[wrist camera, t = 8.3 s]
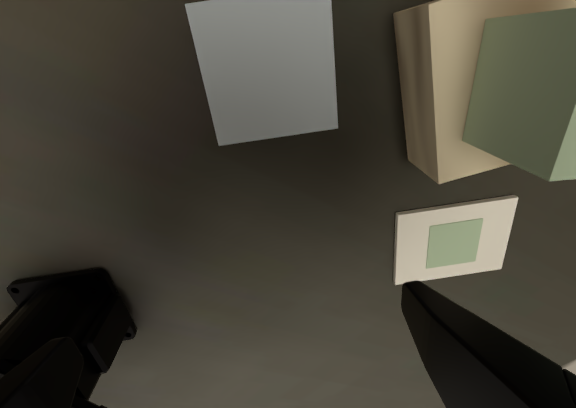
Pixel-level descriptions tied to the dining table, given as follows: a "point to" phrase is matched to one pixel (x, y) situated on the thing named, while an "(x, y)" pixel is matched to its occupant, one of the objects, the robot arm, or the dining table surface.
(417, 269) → the card
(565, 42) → the sage cube
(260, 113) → the blue-grey cube
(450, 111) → the birch block
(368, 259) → the dining table surface
